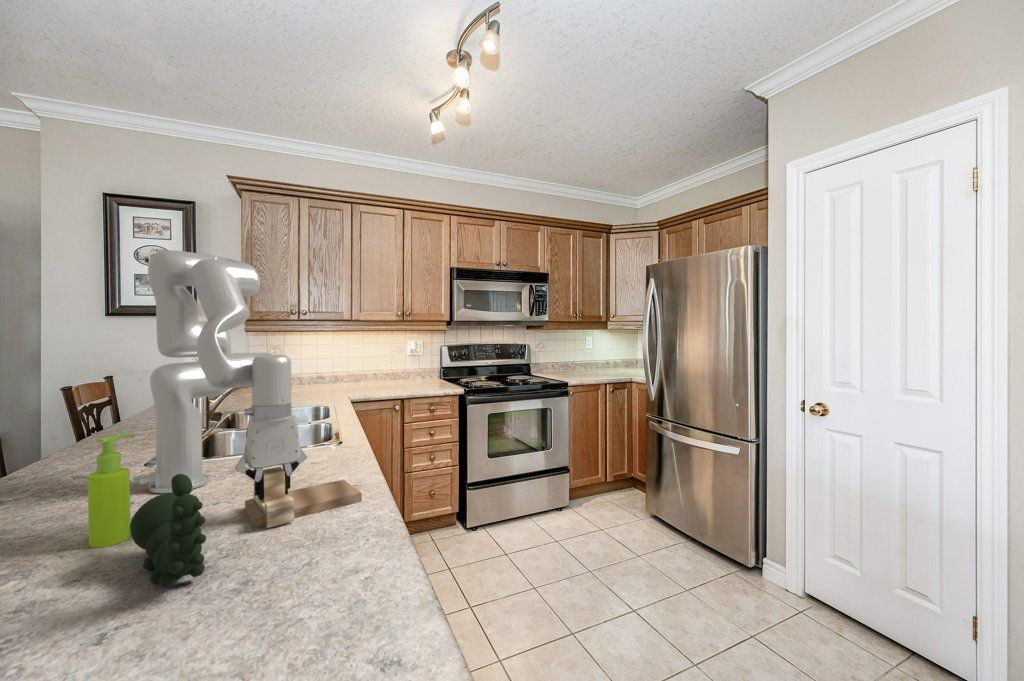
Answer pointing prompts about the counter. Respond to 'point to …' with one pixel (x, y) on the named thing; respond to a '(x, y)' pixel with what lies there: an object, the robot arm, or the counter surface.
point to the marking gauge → (275, 498)
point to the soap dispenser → (109, 497)
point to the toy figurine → (171, 533)
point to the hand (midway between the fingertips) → (272, 494)
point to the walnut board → (311, 500)
